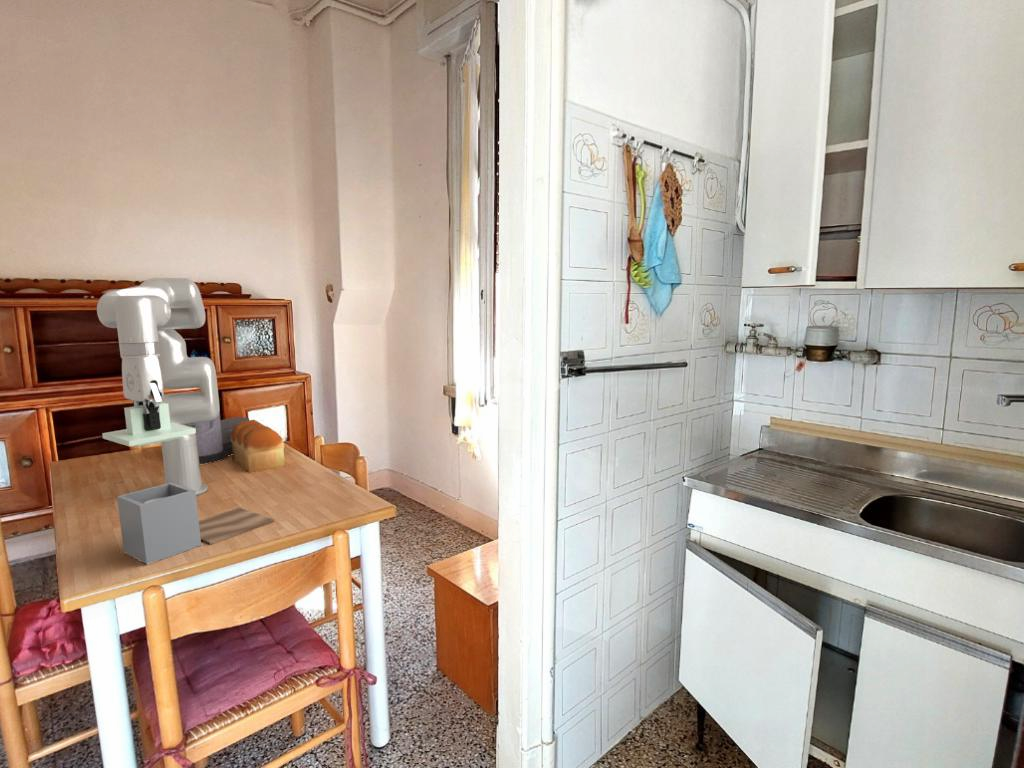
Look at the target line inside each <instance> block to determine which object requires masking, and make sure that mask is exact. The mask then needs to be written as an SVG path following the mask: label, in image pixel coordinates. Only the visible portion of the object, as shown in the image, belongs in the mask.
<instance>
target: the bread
mask: <svg viewBox="0 0 1024 768" xmlns="http://www.w3.org/2000/svg"><path fill="white" fill-rule="evenodd" d="M230 441H231V443H232V453H233V455H232V460H233V459H234V460H233V461H235V460H236V461H237V462H238V463H239V464H238V463H237V462H236V461H235V462H236V463H237V464H238V465H240V466H241V465H242V466H243V467H244V468H243V467H242V466H241V467H242V468H243V469H244V470H246V471H247V470H248V471H249V472H248V471H247V472H248V473H250V474H252V473H251V472H253V473H257V472H256V471H258V472H262V471H261V470H263V471H267V470H266V469H268V470H272V469H271V468H274V469H276V468H275V467H279V466H283V465H285V462H286V461H285V449H284V448H285V443H284V440H283V438H282V436H281V435H280V433H278V432H277V431H275V430H274V429H272V428H271V427H269V426H267V425H264V424H262V423H260V422H259V421H258V420H255V419H249V420H248V421H241V422H240V423H238V424H237V425H236V426H235V427H234V429H233V430H232V431H231V438H230ZM285 466H286V465H285ZM279 468H280V467H279Z"/></svg>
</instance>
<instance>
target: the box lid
mask: <svg viewBox="0 0 1024 768" xmlns="http://www.w3.org/2000/svg"><path fill="white" fill-rule="evenodd" d="M148 406H149V404H148ZM123 409H124V417H125V427H126V428H125V429H120V430H114V431H108V432H102V433H101V434H102V435H101V436H102V439H104V440H108V441H109V442H114V443H116V444H120V445H124V446H125V447H126V446H127V447H137V448H139V447H140V448H141V447H144V446H149V445H155V444H159V443H161V442H165V441H170V440H175V439H180V438H181V436H185V435H190V434H195V433H196V428H192V427H187V425H186V426H183V425H179V424H174V423H170V416H169V407H168V403H163V402H162V403H161V404H160V405H159V409H160V412H159V415H160V424H161V428H160V429H156V430H151V431H145V427H144V419H143V414H145V412H144V406H143V405H140V406H134V405H133V406H129V407H128V406H127V407H123Z"/></svg>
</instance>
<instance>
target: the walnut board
mask: <svg viewBox="0 0 1024 768" xmlns="http://www.w3.org/2000/svg"><path fill="white" fill-rule="evenodd" d="M272 523H275V519H274V518H271V517H267V516H264V515H262V514H259V513H256V512H253V511H250V510H247V509H244V508H242V507H237V508H234V509H232V510H227V511H224V512H222V513H219V514H214V515H212V516H209V517H207V518H203V519H200V520H199V529H200V538H201V540H203V541H205V542H207V543H206V544H208V543H209V544H208V545H210V544H212V543H214V544H217V543H220V542H223V541H225V540H228V539H231V538H233V537H236V536H238V535H241V534H243V533H247V532H251V531H253V530H255V528H256V529H258V528H260V527H264V526H266V525H269V524H272ZM222 540H223V541H222ZM203 541H202V542H203ZM205 542H204V543H205ZM216 542H217V543H216ZM212 545H213V544H212Z"/></svg>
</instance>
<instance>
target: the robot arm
mask: <svg viewBox="0 0 1024 768" xmlns="http://www.w3.org/2000/svg"><path fill="white" fill-rule="evenodd" d="M96 313H97V314H96V315H97V317H98V320H99V322H100V323H101V324H102V325H103V326H104V327H106V328H112V329H117V337H118V345H119V347H118V348H119V352H120V353H119V355H120V359H121V378H122V379H121V380H122V392H123V397H124V398H125V399H127V400H131V401H132V403H133V407H134V406H140V405H143V406H144V412H145V414H143V419H144V427H145V431H151V430H156V429H160V428H161V424H160V415H159V412H160V409H159V405H160V404H161V403H162V402H163V403H168V407H169V416H170V423H174V424H179V425H183V426H187V424H189V423H197V422H208V421H213V420H216V419H217V418H218V416H219V412H220V411H221V410H220V398H219V390H218V389H219V388H218V378H217V371H216V367H215V364H214V362H213V360H212V359H211V358H209V357H206V356H194V357H189V356H188V354H187V344H186V343H187V342H186V341H185V339H184V338H183V336H182V335H181V334H180V333H178V332H177V331H176V330H183V329H184V330H185V329H186V330H188V329H189V330H190V329H198V328H199V329H200V328H201V327H203V326H204V325H205V323H206V311H205V305H204V302H203V298H202V295H201V292H200V289H199V287H198V285H197V284H196V283H195V282H194V280H192V279H190V278H186V277H182V278H181V277H179V278H178V277H156V278H149V279H146V280H144V281H143V282H142V283H141V284H140V285H136V286H130V287H127V288H121V289H115V290H111V291H108V292H106V293H104V294H103V295H102V296H100V298H99V300H98V302H97V305H96ZM195 388H197V389H200V390H201V391H196V392H181V393H180V392H179V393H176V392H175V393H168V394H164V392H165V391H164V389H165V390H180V389H195ZM150 398H151V399H150ZM148 404H149V406H148ZM187 427H188V426H187ZM160 443H161V450H162V452H161V453H162V460H163V468H164V478H165V484H167V483H171V482H172V483H175V484H178V485H181V486H184V487H187V488H190V489H193V490H195V491H196V496H199V495H202V494H203V493H205V492H207V490H208V484H206V483H202V476H201V467H200V466H201V465H200V464H199V455H198V445H197V437H196V435H195V434H190V435H185V436H181V438H180V439H175V440H170V441H165V442H160Z"/></svg>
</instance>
